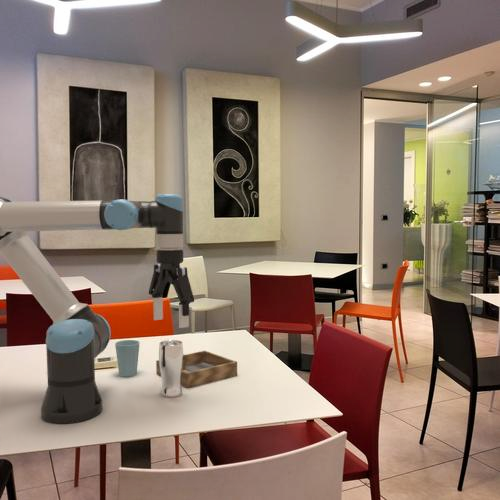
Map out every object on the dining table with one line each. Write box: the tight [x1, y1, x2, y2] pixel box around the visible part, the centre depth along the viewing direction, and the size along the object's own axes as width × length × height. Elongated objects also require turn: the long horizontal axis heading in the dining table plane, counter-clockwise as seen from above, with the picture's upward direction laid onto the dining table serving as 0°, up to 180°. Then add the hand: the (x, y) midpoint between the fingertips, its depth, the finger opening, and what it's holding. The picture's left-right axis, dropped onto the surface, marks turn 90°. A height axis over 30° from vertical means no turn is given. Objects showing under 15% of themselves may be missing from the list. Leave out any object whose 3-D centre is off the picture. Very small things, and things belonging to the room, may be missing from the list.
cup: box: [114, 339, 141, 378], centre depth 166 cm, size 8×8×10 cm
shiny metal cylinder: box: [158, 339, 184, 399], centre depth 148 cm, size 7×7×15 cm
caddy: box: [155, 350, 238, 389], centre depth 166 cm, size 19×18×4 cm
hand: (170, 323), depth 147 cm, fingers open, 13 cm apart
